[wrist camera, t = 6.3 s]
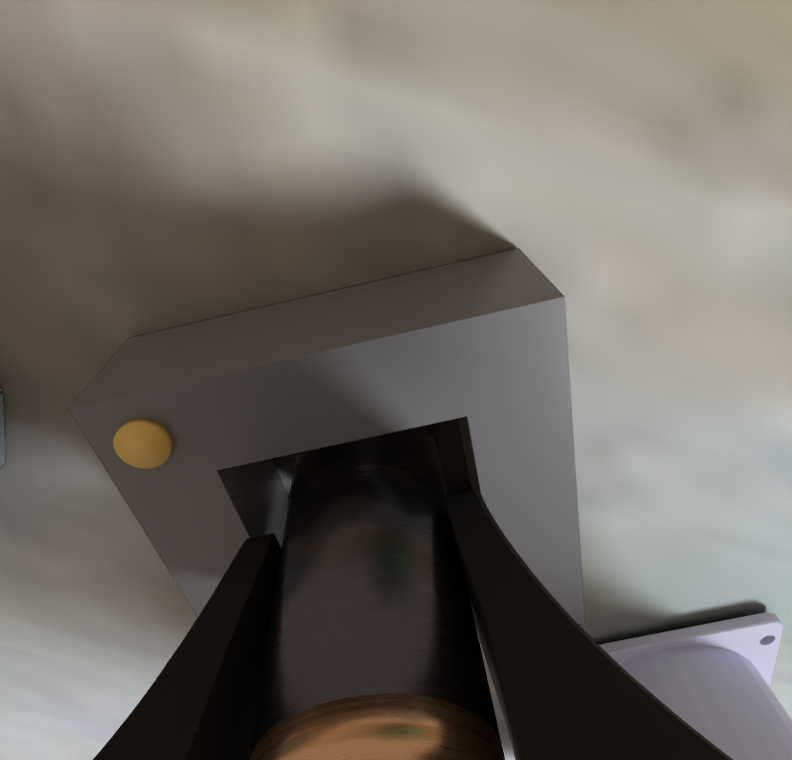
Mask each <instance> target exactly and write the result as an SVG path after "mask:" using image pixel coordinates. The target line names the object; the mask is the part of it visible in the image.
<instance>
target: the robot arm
mask: <svg viewBox="0 0 792 760" xmlns="http://www.w3.org/2000/svg"><path fill="white" fill-rule="evenodd" d="M446 500H447V505H448V510H449V515H450V519H451V524H452V528H453V533H454V537H455V542H456V546H457V551H458V555H459V559H460V562H461V565H462V569H463V573H464V576H465V580H466V584H467V589H468V593H469V598H470V602H471V607H472V611H473V616H474V621H475V625H476V629H477V632H478V635H479V639H480V642H481V645H482V648H483V651H484V655H485V658H486V661H487V664H488V667H489V671H490V674H491V677H492V680H493V683H494V686H495V690H496V693H497V696H498V699H499V702H500V706H501V709H502V712H503V715H504V718H505V721H506V725H507V728H508V732H509V736H510V739H511V743H512V747H513V750H514V755H515V759H516V760H792V719H791V718H790V716H789V715H788V714H787V712H786V711H785V709H784V708H783V706H782V705H781V703H780V702H779V700H778V699H777V697H776V696H775V694H774V693H773V691H772V690H771V688H770V683H771V678H772V674H773V670H774V665H775V661H776V657H777V652H778V648H779V643H780V639H781V635H782V630H783V623H782V622H781V621H780V619H779V618H778V617H777V616H776V615H775V614H773V613H769V612H767V613H760V614H754V615H749V616H744V617H739V618H734V619H729V620H723V621H718V622H713V623H708V624H703V625H698V626H692V627H687V628H682V629H677V630H672V631H667V632H661V633H656V634H651V635H646V636H641V637H635V638H630V639H625V640H620V641H615V642H610V643H604V644H599V645H598V644H597V643H596V642H595V641H594V640H593V639H592V638H591V637H590V636H589V635H588V634H587V633H586V632H585V631H584V630H583V629H582V628H581V627H580V626H579V624H578V623H577V622H576V621H575V620H574V619H573V618H572V617H571V616H570V615H569V614H568V613H567V612H566V611H565V609H564V608H563V607H562V606H561V605H560V604H559V603H558V602H557V600H556V599H555V598H554V597H553V596H552V595H551V594H550V593H549V591H548V590H547V589H546V588H545V587H544V586H543V584H542V583H541V582H540V581H539V580H538V578H537V577H536V576H535V575H534V574H533V572H532V571H531V570H530V568H529V567H528V566H527V564H526V563H525V562H524V561H523V559H522V558H521V557H520V555H519V554H518V553H517V552H516V550H515V549H514V548H513V546H512V545H511V543H510V542H509V541H508V539H507V538H506V536H505V535H504V533H503V532H502V530H501V529H500V527H499V526H498V524H497V523H496V521H495V519H494V518H493V516H492V515H491V513H490V511H489V509H488V507H487V506H486V504H485V502H484V500H483V497H482V495H481V494H480V493H478V492H476V491H473V492H468V493H463V494H458V495H453V496H449V497H446ZM280 554H281V547H280V545H279V542H278V540H277V538H276V536H275V534H274V533H272V534H267V535H262V536H258V537H253V538H248V539H246V540H245V541H244V543H243V544H242V546H241V548H240V549H239V551H238V552H237V554H236V556H235V557H234V559H233V561H232V562H231V564H230V566H229V567H228V569H227V571H226V572H225V574H224V576H223V577H222V579H221V581H220V582H219V584H218V586H217V587H216V589H215V591H214V592H213V594H212V595H211V597H210V599H209V600H208V602H207V604H206V605H205V607H204V608H203V610H202V611H201V613H200V615H199V616H198V618H197V619H196V621H195V623H194V624H193V626H192V627H191V629H190V630H189V632H188V634H187V635H186V637H185V638H184V640H183V641H182V643H181V644H180V646H179V647H178V648H177V650H176V651H175V653H174V654H173V656H172V657H171V659H170V660H169V661H168V663H167V664H166V666H165V667H164V669H163V670H162V672H161V673H160V675H159V676H158V677H157V679H156V680H155V682H154V683H153V684H152V686H151V687H150V689H149V690H148V691H147V693H146V694H145V695H144V697H143V698H142V699H141V701H140V702H139V703H138V705H137V706H136V707H135V709H134V710H133V711H132V713H131V714H130V715H129V716H128V718H127V719H126V720H125V721H124V723H123V724H122V725H121V726H120V728H119V729H118V730H117V731H116V733H115V734H114V735H113V736H112V738H111V739H110V740H109V741H108V743H107V744H106V745H105V746H104V747H103V749H102V750H101V751H100V752H99V753H98V754H97V755H96V757H95V758H94V759H93V760H249V754H250V747H251V741H252V734H253V728H254V721H255V715H256V709H257V702H258V696H259V689H260V683H261V677H262V670H263V664H264V657H265V651H266V644H267V638H268V632H269V625H270V619H271V612H272V606H273V599H274V593H275V587H276V580H277V574H278V567H279V561H280Z"/></svg>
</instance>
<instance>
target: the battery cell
mask: <svg viewBox="0 0 792 760" xmlns="http://www.w3.org/2000/svg"><path fill="white" fill-rule="evenodd" d="M446 497H447V493H446V488H445V483H444V479H443V474H442V470H441V465H440V461H439V456H438V451H437V447H436V444H435V440H434V438H433V436H432V434H431V432H430V431H429V429H428V428H427V427H426V425H424V426H420V427H415V428H410V429H406V430H401V431H397V432H392V433H387V434H383V435H378V436H373V437H369V438H364V439H360V440H355V441H350V442H346V443H341V444H336V445H332V446H327V447H323V448H318V449H313V450H309V451H304V452H299V453H296V458H295V465H294V471H293V477H292V484H291V490H290V497H289V503H288V510H287V516H286V522H285V529H284V535H283V542H282V548H281V554H280V561H279V567H278V574H277V580H276V587H275V593H274V599H273V606H272V612H271V619H270V625H269V632H268V638H267V644H266V651H265V657H264V664H263V670H262V677H261V683H260V689H259V696H258V702H257V709H256V715H255V721H254V728H253V734H252V741H251V747H250V754H249V760H505V758H504V753H503V749H502V744H501V739H500V735H499V730H498V726H497V721H496V717H495V712H494V707H493V703H492V698H491V694H490V689H489V685H488V680H487V675H486V671H485V666H484V662H483V657H482V653H481V648H480V643H479V639H478V634H477V630H476V625H475V621H474V616H473V611H472V607H471V602H470V598H469V593H468V589H467V584H466V580H465V576H464V573H463V569H462V565H461V562H460V559H459V555H458V551H457V546H456V542H455V537H454V533H453V528H452V524H451V519H450V515H449V510H448V505H447V500H446Z"/></svg>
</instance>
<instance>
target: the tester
mask: <svg viewBox="0 0 792 760" xmlns="http://www.w3.org/2000/svg"><path fill="white" fill-rule="evenodd" d="M68 410H69V411H70V413H71V414H72V416H73V418H74V419H75V421H76V422H77V424H78V426H79V427H80V429H81V430H82V432H83V434H84V435H85V437H86V438H87V440H88V442H89V443H90V445H91V447H92V448H93V450H94V451H95V453H96V455H97V456H98V458H99V459H100V461H101V463H102V464H103V466H104V467H105V469H106V471H107V472H108V474H109V475H110V477H111V479H112V480H113V482H114V483H115V485H116V487H117V488H118V490H119V491H120V493H121V495H122V496H123V498H124V500H125V501H126V503H127V504H128V506H129V508H130V509H131V511H132V512H133V514H134V516H135V517H136V519H137V520H138V522H139V524H140V525H141V527H142V528H143V530H144V532H145V533H146V535H147V536H148V538H149V540H150V541H151V543H152V544H153V546H154V548H155V549H156V551H157V553H158V554H159V556H160V557H161V559H162V561H163V562H164V564H165V565H166V567H167V569H168V570H169V572H170V573H171V575H172V577H173V578H174V580H175V581H176V583H177V585H178V586H179V588H180V589H181V591H182V593H183V594H184V596H185V597H186V599H187V601H188V602H189V604H190V606H191V607H192V609H193V610H194V612H195V614H196V615H197V617H198V616H199V615H200V613H201V611H202V610H203V608H204V607H205V605H206V604H207V602H208V600H209V599H210V597H211V595H212V594H213V592H214V591H215V589H216V587H217V586H218V584H219V582H220V581H221V579H222V577H223V576H224V574H225V572H226V571H227V569H228V567H229V566H230V564H231V562H232V561H233V559H234V557H235V556H236V554H237V552H238V551H239V549H240V548H241V546H242V544H243V543H244V541H245V540H246V539H248V538H253V537H258V536H262V535H267V534H272V533H274V534H275V536H276V538H277V540H278V542H279V545H280V547H281V548H282V542H283V535H284V529H285V522H286V516H287V510H288V503H289V499H288V496H287V494H286V491H285V489H284V487H283V484H282V482H281V479H280V477H279V475H278V472H277V470H276V468H275V465H274V463H273V460H272V458H276V457H281V456H286V455H290V454H295V453H299V452H304V451H309V450H313V449H318V448H323V447H327V446H332V445H336V444H341V443H346V442H350V441H355V440H360V439H364V438H369V437H373V436H378V435H383V434H387V433H392V432H397V431H401V430H406V429H410V428H415V427H420V426H424V425H429V424H434V423H438V422H443V421H447V420H452V419H457V418H458V421H459V426H460V431H461V436H462V442H463V447H464V452H465V457H466V463H467V468H468V473H469V478H470V484H471V489H472V492H473V491H476V492H478V493H480V494H481V495H482V497H483V500H484V502H485V504H486V506H487V507H488V509H489V511H490V513H491V515H492V516H493V518H494V519H495V521H496V523H497V524H498V526H499V527H500V529H501V530H502V532H503V533H504V535H505V536H506V538H507V539H508V541H509V542H510V543H511V545H512V546H513V548H514V549H515V550H516V552H517V553H518V554H519V555H520V557H521V558H522V559H523V561H524V562H525V563H526V564H527V566H528V567H529V568H530V570H531V571H532V572H533V574H534V575H535V576H536V577H537V578H538V580H539V581H540V582H541V583H542V584H543V586H544V587H545V588H546V589H547V590H548V591H549V593H550V594H551V595H552V596H553V597H554V598H555V599H556V600H557V602H558V603H559V604H560V605H561V606H562V607H563V608H564V609H565V611H566V612H567V613H568V614H569V615H570V616H571V617H572V618H573V619H574V620H575V621H576V622H577V623H578V624H579V625H580V624H585V617H584V601H583V585H582V568H581V552H580V536H579V520H578V504H577V487H576V471H575V455H574V439H573V423H572V406H571V390H570V374H569V358H568V342H567V325H566V309H565V297H564V295H563V294H562V293H561V292H560V291H559V290H558V289H557V288H556V287H555V286H554V285H553V284H552V283H551V282H550V281H549V280H548V279H547V278H546V276H545V275H544V274H543V273H542V272H541V271H540V270H539V269H538V268H537V267H536V266H535V265H534V264H533V263H532V262H531V261H530V260H529V259H528V257H527V256H526V255H525V254H524V253H523V252H522V251H521V250H520V249H519V248H517V249H513V250H509V251H504V252H500V253H495V254H491V255H487V256H482V257H478V258H474V259H469V260H465V261H461V262H456V263H452V264H448V265H443V266H439V267H435V268H430V269H426V270H422V271H417V272H413V273H409V274H404V275H400V276H396V277H391V278H387V279H383V280H378V281H374V282H370V283H365V284H361V285H357V286H352V287H348V288H343V289H339V290H335V291H330V292H326V293H322V294H317V295H313V296H309V297H304V298H300V299H296V300H291V301H287V302H283V303H278V304H274V305H270V306H265V307H261V308H257V309H252V310H248V311H244V312H239V313H235V314H231V315H226V316H222V317H218V318H213V319H209V320H205V321H200V322H196V323H191V324H187V325H183V326H178V327H174V328H170V329H165V330H161V331H157V332H152V333H148V334H144V335H139V336H135V337H131V338H128V339H127V341H126V342H125V343H124V344H123V345H122V346H121V348H120V349H119V350H118V351H117V352H116V353H115V355H114V356H113V357H112V358H111V359H110V360H109V361H108V363H107V364H106V365H105V366H104V367H103V368H102V370H101V371H100V372H99V373H98V374H97V375H96V377H95V378H94V379H93V380H92V381H91V382H90V383H89V385H88V386H87V387H86V388H85V389H84V390H83V392H82V393H81V394H80V395H79V396H78V397H77V399H76V400H75V401H74V402H73V403H72V404H71V405H70V407H69V408H68ZM476 630H477V629H476ZM477 634H478V632H477ZM478 639H479V635H478ZM479 643H480V644H481V642H480V639H479Z"/></svg>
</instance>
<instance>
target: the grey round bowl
mask: <svg viewBox="0 0 792 760" xmlns="http://www.w3.org/2000/svg"><path fill="white" fill-rule="evenodd" d="M1 391H2V389H1V388H0V392H1ZM4 463H5V437H4V400H3V393H0V469H1V468H2V466H3V465H4Z"/></svg>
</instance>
